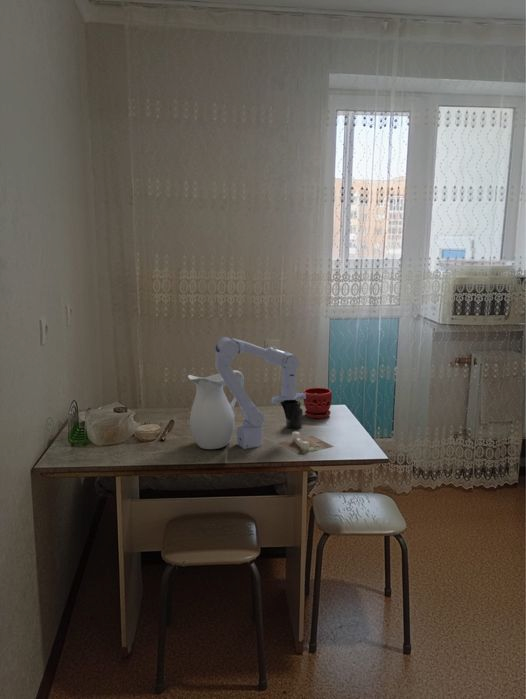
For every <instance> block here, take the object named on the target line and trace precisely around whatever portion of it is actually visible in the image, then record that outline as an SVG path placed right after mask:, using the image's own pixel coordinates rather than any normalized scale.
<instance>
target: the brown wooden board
mask: <svg viewBox="0 0 526 699" xmlns="http://www.w3.org/2000/svg"><path fill="white" fill-rule="evenodd" d="M300 439H301V440H302V441H308V442H309V450H308V451H303V450H301V449H300V446H298V445H297V444H296V443H295V442H292V439H291V440H287V441H286V440H285V441H281V442H279V444H280V445H281V446H283V447H285V448H287V449H288V450H290V451H292V452H294V453H295V454H297V455H303V454H307V453H312V452H318V451H321V450H326V449H330V448H334V445H332V444H330V443H328V442H327V441H324V440H322V439H319V438H318V437H315V436H314V435H309V436H304V437H300Z"/></svg>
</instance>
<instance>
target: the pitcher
mask: <svg viewBox="0 0 526 699" xmlns="http://www.w3.org/2000/svg"><path fill="white" fill-rule="evenodd" d="M232 370H233V372H234V374H235V375H236V376H237V378H238V380H239V382H240V383H241V385H242V386H243V388H244V387H245V377H244V375H243V373H242V372H241V371H240V370H234V369H232ZM187 379H189V381H190V382H192V383H193V384H194V385H195V388H196V390H195V391H196V392H195V396H194V400H193V402H192V403H193V404H192V406H191V409H190V414H189V415H190V416H189V429H190V432H191V435H192V438H193V440H194V441H195V443H196V444H197V446H198V447H199V448H201V449H205V450H216V449H217V450H218V449H222V448H224V447H226V446H228V444H229V442H230V441H231V439H232V437H233V436H234V435H233V434H234V432H235V418H236V415H235V412H234V409H235V407H236V403H238V402H237V400H236V399H235V397H234V396H233V398H232V400H231V402H229V400H228V398H227V395H226V394H225V391H224V387H226V386H227V385H226V383H225V381H224V380H223V378H222V377H221V375H220V374H219V373H216V374H212V375H209V376H205V377H201V376H196V375H195V376H194V375H192V374H188V375H187Z"/></svg>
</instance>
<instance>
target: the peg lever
mask: <svg viewBox="0 0 526 699" xmlns="http://www.w3.org/2000/svg"><path fill="white" fill-rule="evenodd" d="M300 433H301V432H299V431H292V436H291V438H292V439H291V440H292V442H295V443H296V444H297V445H298V446H300V449H301V450H303V451H308V450H309V442H308V441H302V440H301V439H300V438H301V437H300V436H301V434H300Z"/></svg>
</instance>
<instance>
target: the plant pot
mask: <svg viewBox="0 0 526 699" xmlns="http://www.w3.org/2000/svg"><path fill="white" fill-rule="evenodd" d="M302 393H305V394H306V399H303V405H304V408H305V411H304V414H305V416H307V417H309V418H311V419H323V418H327V417H329V416H330V415H331V410H330V409H331V406H332V401H333V400H332V399H333V392H332V389H331V388H325V387H310V388H306V389H304V390H303V391H302Z"/></svg>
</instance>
